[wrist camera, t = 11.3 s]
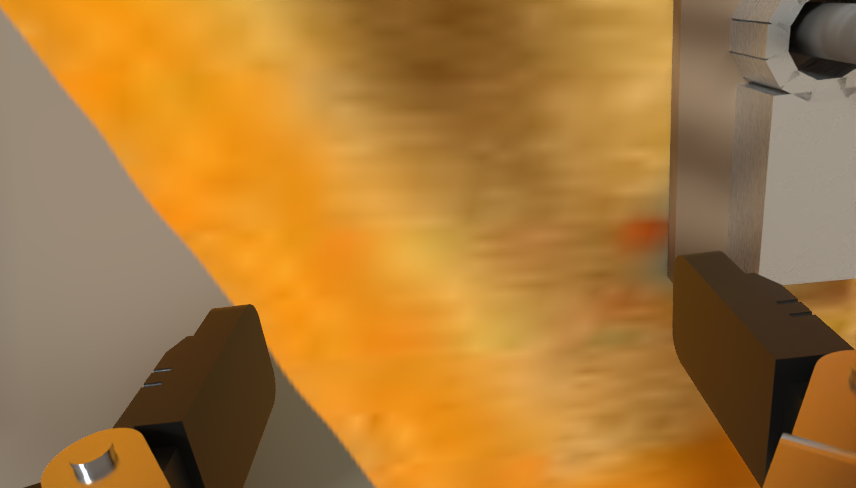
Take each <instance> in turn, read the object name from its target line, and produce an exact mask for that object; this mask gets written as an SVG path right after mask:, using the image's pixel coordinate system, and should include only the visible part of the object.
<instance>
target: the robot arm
mask: <svg viewBox="0 0 856 488" xmlns="http://www.w3.org/2000/svg"><path fill="white" fill-rule="evenodd" d="M673 340H674V345H675V349H676V353H677V355H678V358H679V360H680V362H681V364H682V365H683V367H684V368H685V370H686V372H687V373H688V375H689V376H690V378H691V379H692V381H693V382H694V384H695V386H696V387H697V389H698V390H699V392H700V393H701V395H702V396H703V398H704V400H705V401H706V403H707V404H708V406H709V407H710V409H711V410H712V412H713V413H714V415H715V417H716V418H717V420H718V421H719V423H720V424H721V426H722V427H723V429H724V431H725V432H726V434H727V435H728V437H729V438H730V440H731V441H732V443H733V445H734V446H735V448H736V449H737V451H738V452H739V454H740V455H741V457H742V458H743V460H744V462H745V463H746V465H747V466H748V468H749V469H750V471H751V472H752V474H753V476H754V477H755V479H756V480H757V482H758V483H759V485H760V486H761V488H856V350H855V349H854V348H852V347H851V346H850V345H849V344H848V343H847V342H846V341H844V340H843V339H842V338H841V337H840V336H839V335H838V334H837V333H835V332H834V331H833V330H832V329H831V328H830V327H829V326H827V325H826V324H825V323H824V322H823V321H822V320H821V319H820V318H818V317H817V316H816V315H812V311H810V310H809V309H808V308H807V307H806V306H805V305H804V304H803V303H801V302H798V300H797V298H796V297H795V296H793V295H792V294H791V293H790V292H789V291H788V290H787V289H786V288H784V287H783V286H782V285H781V284H779V283H777V282H775V281H772V280H770V279H768V278H765V277H763V276H761V275H759V274H756V273H747V274H746V273H745V272H743V271H742V270H741V269H740V268H739V267H738V266H737V265H736V264H735V263H734V262H733V261H732V260H731V259H730V258H729V257H728V256H727V255H725V254H724V253H723V252H722V251H711V252H702V253H694V254H685V255H678V256H677V257H676V259H675V263H674V276H673ZM274 401H275V377H274V371H273V368H272V365H271V360H270V357H269V353H268V349H267V345H266V341H265V338H264V334H263V330H262V327H261V323H260V319H259V316H258V313H257V311H256V309H255V307H254V306H253V305H251V304H248V305H240V306H232V307H223V308H214V309H212V310H211V311H210V312H209V313H208V315H207V316H206V318H205V319H204V321H203V322H202V324H201V325H200V327H199V328H198V330H197V331H196V333H195V334H194V336H188V337H186V338H185V339H183V340H182V341H180V342H179V343H178V344H177V345H175V346H174V347H173V348H171V349H170V350H169V351H167V352H166V353H165V355H164V356H163V358H162V359H161V360H160V362H159V363H158V365H157V366H156V368H155V369H154V373H151V375H150V376H149V377H148V379H147V380H146V382H145V383H144V387H143V388H141V389H140V390H139V392H138V393H137V394H136V396H135V397H134V399H133V400H132V401H131V403H130V404H129V406H128V407H127V408H126V410H125V411H124V413H123V414H122V416H121V417H120V418H119V420H118V421H117V423H116V424H115V425H114V427H113V428H112V429H108V430H104V431H100V432H97V433H94V434H91V435H89V436H87V437H85V438H82V439H80V440H78V441H77V442H75V443H73V444H72V445H70V446H68V447H67V448H65V449H64V450H63V451H61V452H60V453H59V454H58V455H57V456H56V457H54V459H53V460H52V461H51V462H50V463H49V464H48V465H47V467H46V468H45V470H44V472H43V474H42V477H41V482H40V483H37V484H34V485H31V486H28V487H25V488H243V486H244V484H245V480H246V478H247V475H248V473H249V470H250V467H251V465H252V462H253V459H254V457H255V454H256V451H257V448H258V445H259V443H260V440H261V438H262V435H263V432H264V429H265V427H266V424H267V421H268V418H269V416H270V413H271V410H272V408H273V405H274Z"/></svg>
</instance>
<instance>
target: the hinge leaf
mask: <svg viewBox="0 0 856 488" xmlns="http://www.w3.org/2000/svg"><path fill="white" fill-rule="evenodd" d="M808 1H809V0H742V1H741V3H740V4H739V6H738V8H737V9H736V11H735V13H734V15H733V16H732V19H734V20H731V25H730V43H729V51H732V52H730V55H731V57H732V58H733V60H734V62H735V64H736V66H737V67H738V69H739V71H740V73H741V75H742V76H743V77H744V78H745V79H747V80H749V81H751V82H752V83H743V84H737V90H736V107H735V123H734V139H733V156H732V172H731V189H730V205H729V222H728V238H727V254H726V255H727V256H728V257H729V258H730V259H731V260H732V261H733V262H734V263H735V264H736V265H737V266H738V267H739V268H740V269H741V270H742V271H743V272H745V273H746V274H747V273H756V274H759V275H761V276H763V277H765V278H768V279H770V280H772V281H775V282H777V283H779V284H781V285H791V284H802V283H813V282H823V281H834V280H845V279H856V64H852V63H846V62H841V61H835V60H830V59H824V58H819V57H813V58H811V59H810V60H808V61H807V62H805V63H804V64H802V65H800V66H799V67H796V65H795V63H794V61H793V60H792V58H791V56H790V54H789V52H788V49H789V37H790V27H791V25H792V23H793V22H794V20H795V18H796V17H797V15H798V14H799V12H800V10H801V9H802V7H803V5H804V4H805V3H806V2H808ZM826 2H827V3H856V0H826Z"/></svg>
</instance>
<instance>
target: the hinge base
mask: <svg viewBox="0 0 856 488" xmlns="http://www.w3.org/2000/svg"><path fill="white" fill-rule="evenodd" d="M741 1H742V0H674V10H673V54H672V99H671V143H670V187H669V232H668V277H669V278H670V280H671V281H672V282H673V276H674V263H675V259H676V257H677V256H678V255H685V254H694V253H702V252H711V251H722V252H723V253H724V254H725V255H726V254H727V238H728V222H729V205H730V189H731V172H732V156H733V139H734V123H735V107H736V90H737V84H743V83H752V82H751V81H749V80H747V79H745V78H744V77H743V76H742V75H741V73H740V71H739V69H738V67H737V66H736V64H735V62H734V60H733V58H732V57H731V55H730V52H732V51H729V43H730V25H731V20H734V19H732V16H733V15H734V13H735V11H736V9H737V8H738V6H739V4H740V3H741ZM788 52H789V54H790V56H791V58H792V60H793V61H794V63H795V65H796V67H799V66H800V65H802V64H804V63H805V62H807V61H808V60H810V59H811V58H813V57H819V58H824V59H830V60H835V61H841V62H846V63H852V64H856V3H827V2H826V0H809V1H808V2H806V3H805V4H804V5H803V7H802V9H801V10H800V12H799V14H798V15H797V17H796V18H795V20H794V22H793V23H792V25H791V27H790V37H789V49H788Z"/></svg>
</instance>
